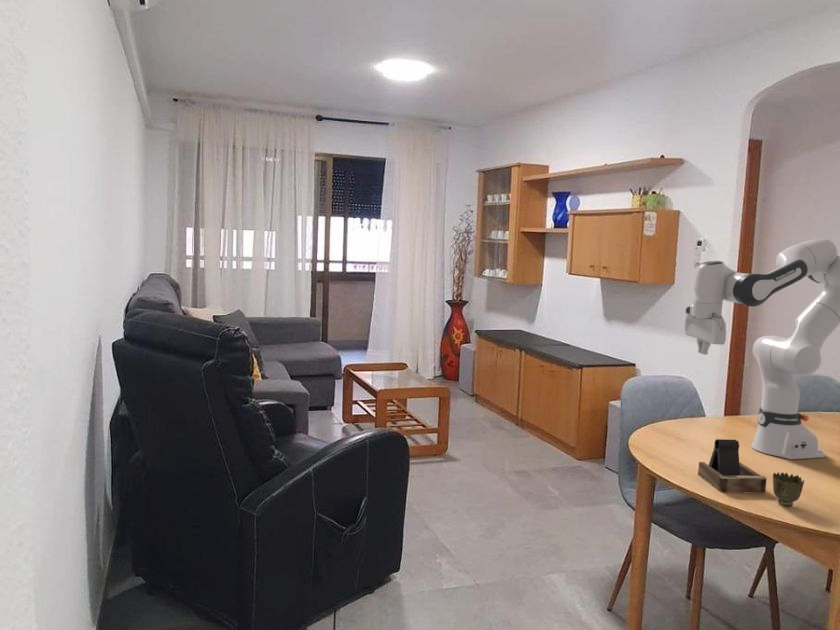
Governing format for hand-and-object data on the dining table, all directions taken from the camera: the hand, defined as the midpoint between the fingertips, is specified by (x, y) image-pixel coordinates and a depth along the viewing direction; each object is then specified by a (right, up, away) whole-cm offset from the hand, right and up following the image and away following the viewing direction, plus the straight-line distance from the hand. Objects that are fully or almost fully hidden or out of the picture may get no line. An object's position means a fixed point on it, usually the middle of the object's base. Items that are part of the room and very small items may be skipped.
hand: (702, 353), depth 214 cm
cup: (+8, -39, -35) cm, 53 cm away
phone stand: (-1, -37, -17) cm, 40 cm away
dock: (-1, -37, -20) cm, 42 cm away
